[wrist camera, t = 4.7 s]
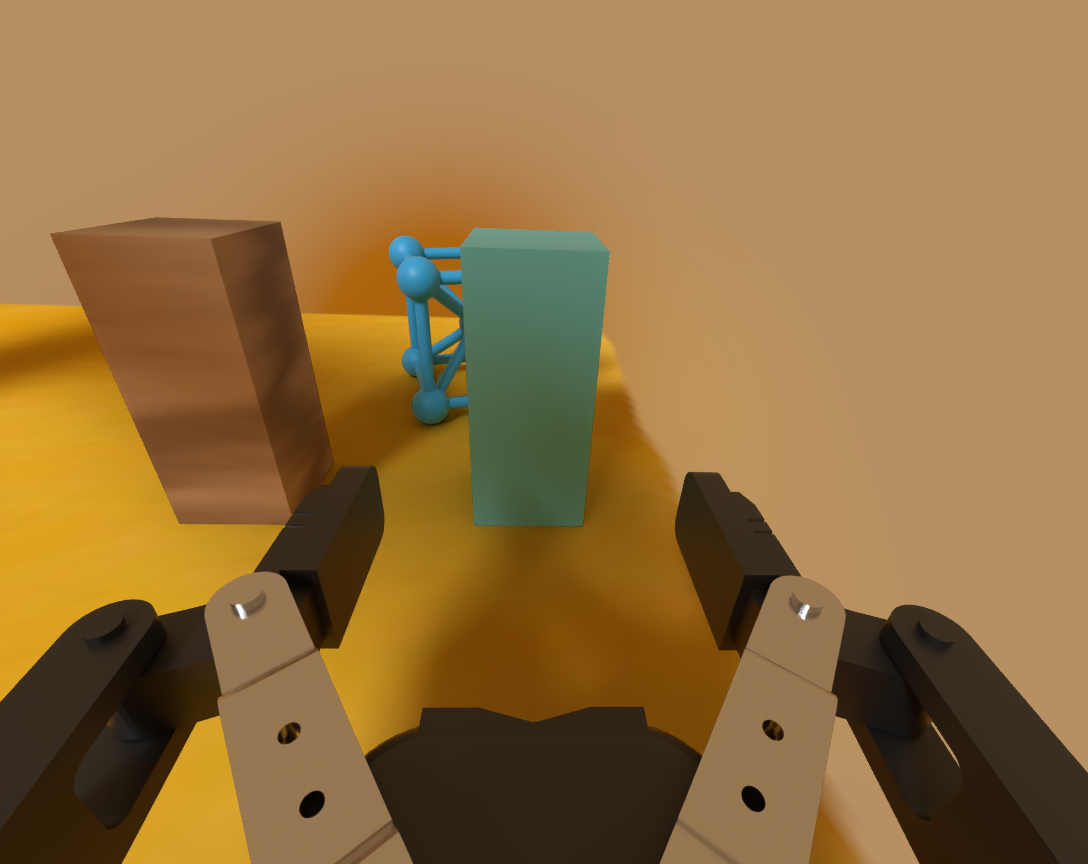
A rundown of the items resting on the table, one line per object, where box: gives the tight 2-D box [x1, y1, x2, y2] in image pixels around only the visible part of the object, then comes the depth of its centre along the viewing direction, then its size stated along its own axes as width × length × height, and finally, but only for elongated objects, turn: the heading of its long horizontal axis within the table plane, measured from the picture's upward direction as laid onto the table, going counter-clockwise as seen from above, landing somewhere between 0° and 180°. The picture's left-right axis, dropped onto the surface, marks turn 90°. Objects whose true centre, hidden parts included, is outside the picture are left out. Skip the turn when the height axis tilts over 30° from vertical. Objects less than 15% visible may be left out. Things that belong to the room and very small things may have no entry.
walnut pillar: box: [50, 218, 334, 524], centre depth 20 cm, size 5×5×12 cm
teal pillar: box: [460, 228, 610, 526], centre depth 21 cm, size 5×5×12 cm
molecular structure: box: [389, 236, 468, 424], centre depth 32 cm, size 10×10×10 cm
